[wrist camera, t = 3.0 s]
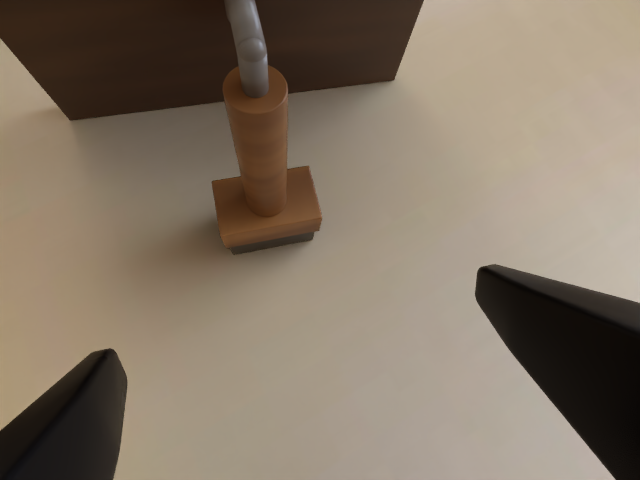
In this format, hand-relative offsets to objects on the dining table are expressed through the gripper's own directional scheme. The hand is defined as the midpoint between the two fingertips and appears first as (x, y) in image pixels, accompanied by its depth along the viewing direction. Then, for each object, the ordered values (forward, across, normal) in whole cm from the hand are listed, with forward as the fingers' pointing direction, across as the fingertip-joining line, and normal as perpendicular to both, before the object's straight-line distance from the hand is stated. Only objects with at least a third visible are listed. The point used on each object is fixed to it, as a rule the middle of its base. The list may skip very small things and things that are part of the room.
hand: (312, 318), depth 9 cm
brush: (+16, 0, +3) cm, 16 cm away
